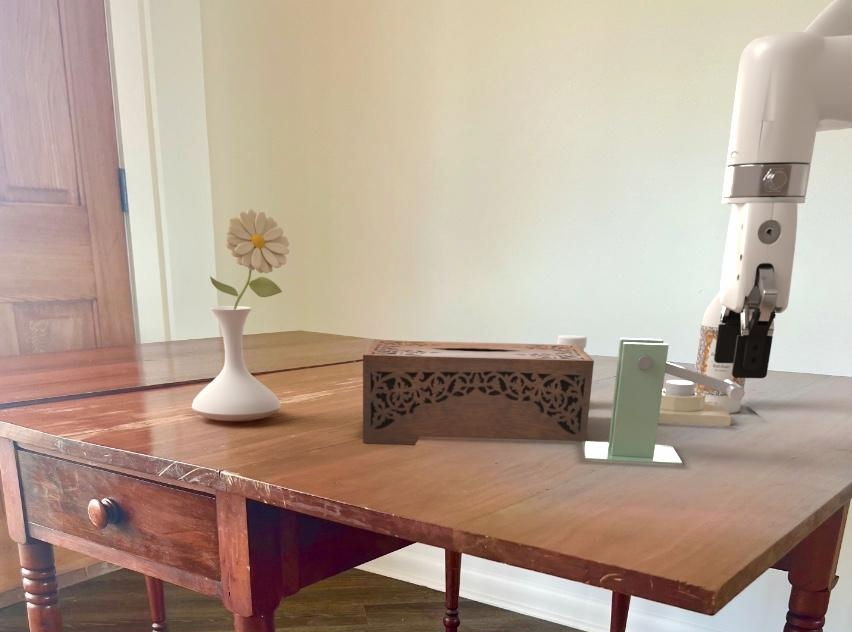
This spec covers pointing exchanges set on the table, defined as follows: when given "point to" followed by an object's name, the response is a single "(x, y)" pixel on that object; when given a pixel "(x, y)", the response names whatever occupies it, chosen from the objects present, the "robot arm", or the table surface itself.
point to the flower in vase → (235, 386)
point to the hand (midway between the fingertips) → (738, 369)
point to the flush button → (679, 387)
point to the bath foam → (706, 359)
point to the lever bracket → (636, 407)
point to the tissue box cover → (475, 391)
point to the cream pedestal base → (692, 410)
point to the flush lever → (707, 381)
